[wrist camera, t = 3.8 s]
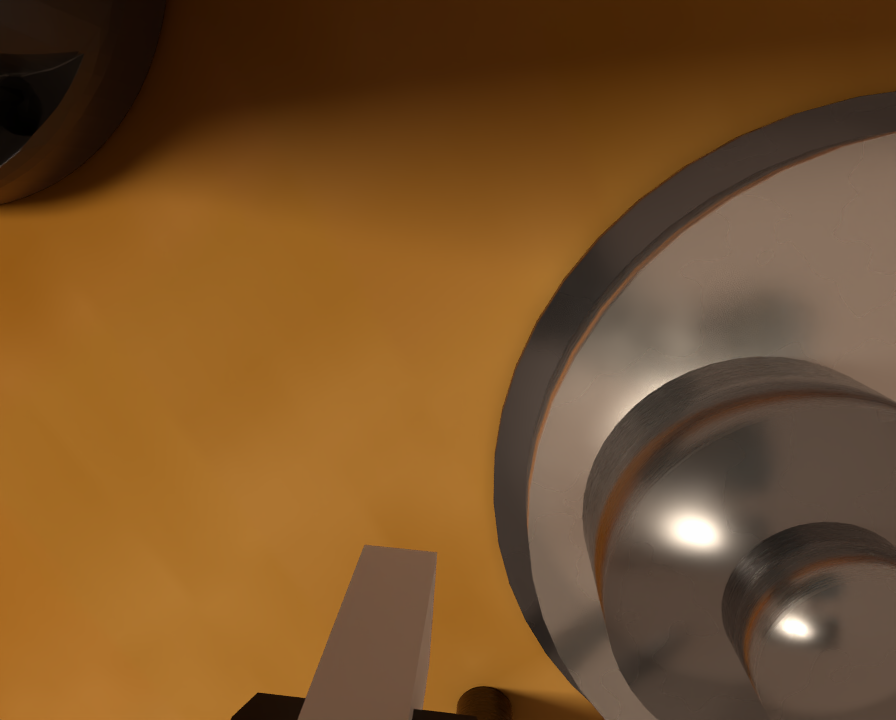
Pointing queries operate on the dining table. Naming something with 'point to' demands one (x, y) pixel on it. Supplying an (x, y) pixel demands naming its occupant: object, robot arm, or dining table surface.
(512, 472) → the plinth
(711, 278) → the turntable
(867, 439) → the cover
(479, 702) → the indicator post
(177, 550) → the dining table surface
